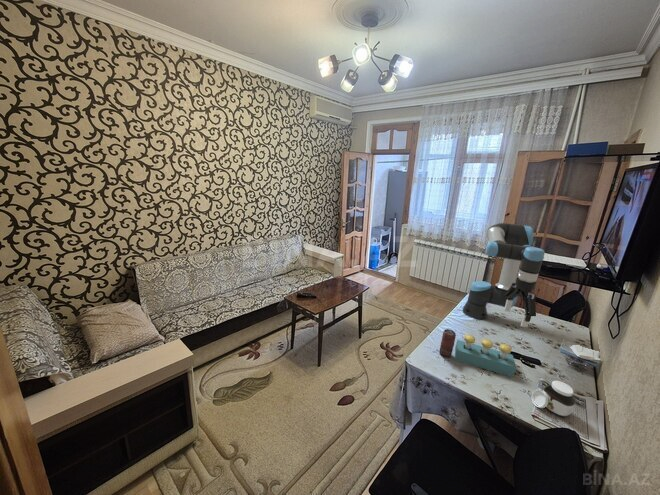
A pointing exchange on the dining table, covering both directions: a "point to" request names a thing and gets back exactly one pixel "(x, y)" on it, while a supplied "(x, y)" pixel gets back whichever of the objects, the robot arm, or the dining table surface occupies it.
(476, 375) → the dining table surface
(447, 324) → the dining table surface
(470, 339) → the plunger
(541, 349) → the dining table surface
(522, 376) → the dining table surface
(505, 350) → the plunger
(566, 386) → the spread jar
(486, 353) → the plunger mid
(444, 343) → the can
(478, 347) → the mount
